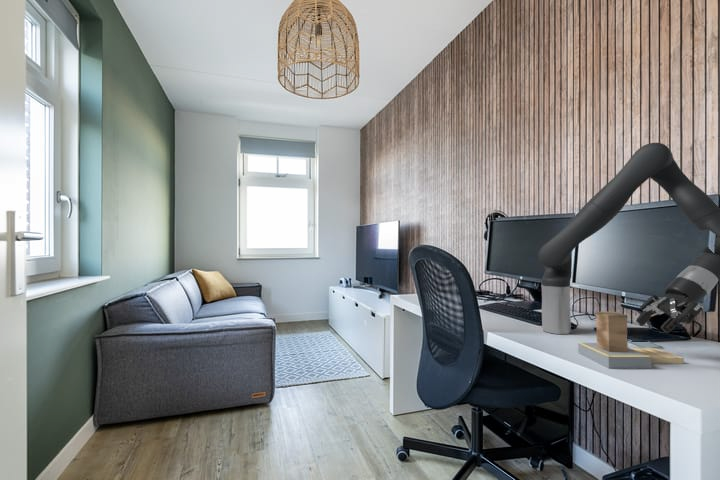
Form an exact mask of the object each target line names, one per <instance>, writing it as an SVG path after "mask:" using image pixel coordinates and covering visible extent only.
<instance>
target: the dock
mask: <svg viewBox="0 0 720 480" xmlns="http://www.w3.org/2000/svg"><path fill="white" fill-rule="evenodd" d="M577 352H578V354H580V355H582V356H583V357H586V358H588V359H589V360H591V361H594V362H595V363H597V364H600V365H601V366H603V367H605V368H607V369H652V364H651V356H648V355H645V354H643V353H640V352H637V351H635V350H632V349H630V348H628V352H608V351H606V350H603V349H601V348H599V347H597V342H577Z"/></svg>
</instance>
